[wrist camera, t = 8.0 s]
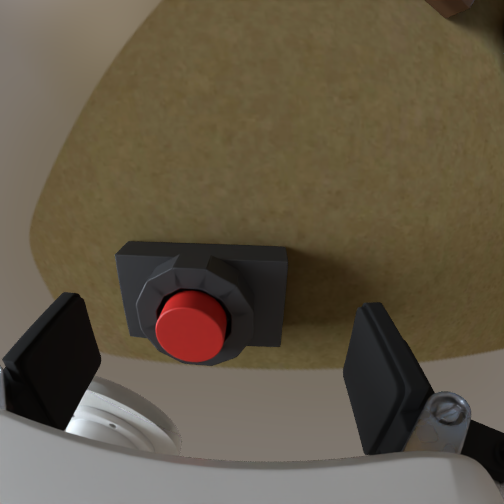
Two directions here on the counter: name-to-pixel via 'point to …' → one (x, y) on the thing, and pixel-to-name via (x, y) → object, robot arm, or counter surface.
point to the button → (192, 326)
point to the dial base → (450, 6)
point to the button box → (206, 289)
